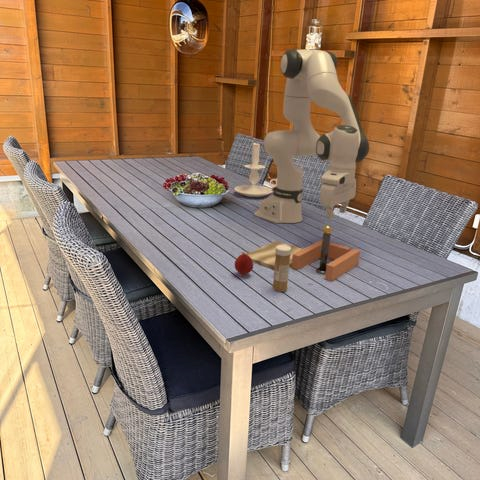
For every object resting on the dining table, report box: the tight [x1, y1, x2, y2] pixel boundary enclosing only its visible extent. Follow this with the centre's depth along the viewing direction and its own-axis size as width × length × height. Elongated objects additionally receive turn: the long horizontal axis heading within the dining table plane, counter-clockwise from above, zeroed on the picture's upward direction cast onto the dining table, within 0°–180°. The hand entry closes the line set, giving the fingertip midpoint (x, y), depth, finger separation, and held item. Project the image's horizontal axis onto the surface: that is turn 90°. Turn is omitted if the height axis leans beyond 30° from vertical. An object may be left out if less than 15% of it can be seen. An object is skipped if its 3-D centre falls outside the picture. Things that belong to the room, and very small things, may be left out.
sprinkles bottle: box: [272, 245, 291, 292], centre depth 135 cm, size 5×5×13 cm
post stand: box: [315, 225, 333, 275], centre depth 149 cm, size 4×4×16 cm
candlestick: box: [233, 142, 277, 198], centre depth 240 cm, size 21×25×28 cm
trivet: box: [246, 240, 303, 270], centre depth 162 cm, size 16×21×1 cm
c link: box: [290, 239, 361, 282], centre depth 155 cm, size 20×15×5 cm
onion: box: [234, 251, 254, 277], centre depth 144 cm, size 6×6×8 cm
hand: (336, 214), depth 158 cm, fingers open, 8 cm apart
